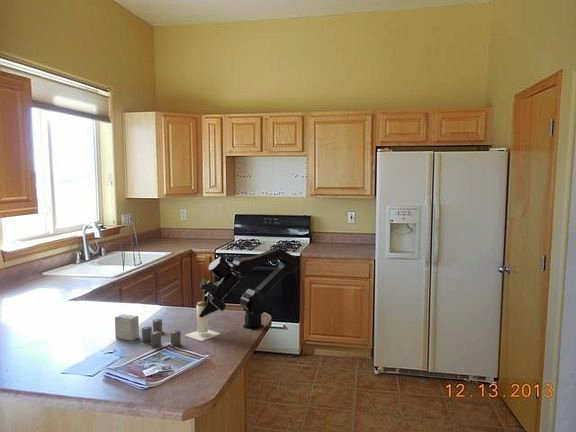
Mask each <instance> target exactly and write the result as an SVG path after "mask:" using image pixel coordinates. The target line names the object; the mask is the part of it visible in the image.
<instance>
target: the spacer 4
mask: <svg viewBox="0 0 576 432" xmlns="http://www.w3.org/2000/svg"><path fill="white" fill-rule="evenodd" d="M181 341H182V338H181V330H179V329H178V330H177V329H175V330H171V331H170V346H171V345H172V346H174V347H173V348H177V347H180V346H181V343H182V342H181ZM172 346H171V347H172Z"/></svg>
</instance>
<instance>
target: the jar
mask: <svg viewBox="0 0 576 432" xmlns="http://www.w3.org/2000/svg"><path fill="white" fill-rule="evenodd" d="M206 305H207V302H206V301H203V300H201V301H197V302H196V331H197V332H199V333H205V332H208V330H209V314H208V315H206V316H204V317H200V316H199V315H200V314H201V312H202V311H203V309H204V308H205V306H206Z"/></svg>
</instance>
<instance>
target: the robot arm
mask: <svg viewBox="0 0 576 432" xmlns="http://www.w3.org/2000/svg"><path fill="white" fill-rule="evenodd" d="M276 259H277V260H278V261H279V263H278V266H277V267H276V268H275V269H274V270H273V271H272V272H271V273H270V274H269V275H268V276H267V277H266V278H265V279H264V280H263V281H262V282H261V283H259V285H258V286H257V287H255V288H254V289H252V288H248V289H247V290H246V291H244V292H243V293H242V294H241V297H240V299H239V304H240V306H241V307H242V309H243V312H245V315H244V324H243V325H242V327H243V328H246V329H250V330H257V329H259V328H262V327H264V326H265V324H262V314H264V311H265V308H264V306H262V302H263V300H264V297H265V296H266V295H267V294H268V293H269V292H270V291H271V290H272V289H273V288H274V287H275V286H276V285H277V284H278V283H279V282H280V281H281V280H282V279H284V277H285V276H286V275H288V274H290V273H293V272H295V271H296V270H297V269H298V268H299V267H301V258H300V257H299V256H298V255H292V254H291V253H288V252H287V251H285V250H284V249H283V248H279V247H273V248H272V249H269V250H267V251H263V252H261V253H259V254H256V255H253V256H249V257H248V256H247V257H238V258H235V259H234V260H233V261H231V262H227V261H225V258H223V257H222V256H218V257H217V258H216V259H214V260H213V261H211V262H210V264H209V266H208V270H209V271H210V272H211V273H212V274H213V275H214V276H215V277H217V278H218V279H220V280H219V281H216V282H215V283H214V281H211V280H207V279H204V278H202V279H201V281H200V283H199V287H200V289H202V292H203V293H202V297H203V299H202V301H206V302H207V305H206V306H205V308H204V309H203V311H202V312H201V314H200V315H199V316H200V317H204V316H206V315H208V316H209V315H210V314H212V313H215V312H217V311H221V312H224V310H225V309H226V308H227V307H226V303H225V302H224V299H225V297H226V296H227V295H230V294H231V290H233V289H234V287H235V286H236V285H237V284H238V283H241V284H244V276H243V275H247V274H248V273H250V272H252V271H253V270H254V269H255V268H256V267H258V266H261V265H264V264H266V263H269V262H271V261H274V260H276ZM232 271H233V272H232ZM239 274H241V275H239Z"/></svg>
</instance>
